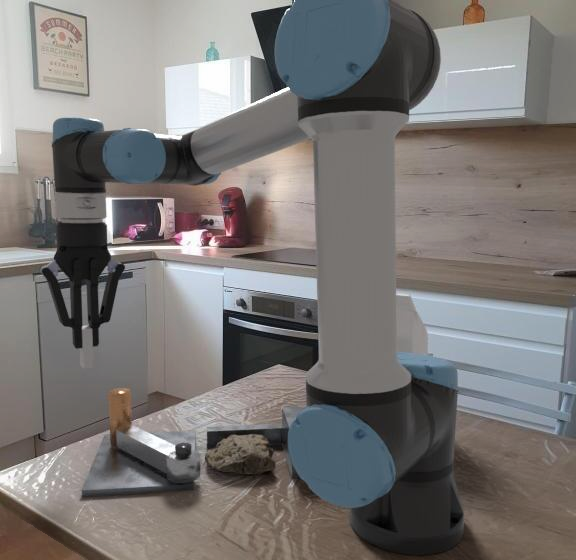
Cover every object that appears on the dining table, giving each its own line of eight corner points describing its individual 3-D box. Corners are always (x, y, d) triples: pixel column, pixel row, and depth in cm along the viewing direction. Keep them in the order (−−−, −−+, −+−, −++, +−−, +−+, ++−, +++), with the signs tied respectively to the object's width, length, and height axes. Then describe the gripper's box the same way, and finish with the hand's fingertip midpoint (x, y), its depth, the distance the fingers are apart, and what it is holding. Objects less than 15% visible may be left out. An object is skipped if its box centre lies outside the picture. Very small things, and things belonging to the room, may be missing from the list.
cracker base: (313, 483, 90) (313, 439, 89) (81, 496, 85) (79, 451, 84) (293, 431, 110) (294, 394, 109) (104, 439, 105) (103, 402, 104)
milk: (427, 426, 112) (434, 292, 108) (411, 449, 102) (417, 302, 98) (368, 415, 118) (372, 286, 114) (346, 436, 108) (350, 295, 104)
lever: (207, 474, 89) (206, 418, 88) (180, 486, 86) (179, 427, 84) (128, 435, 103) (126, 385, 102) (102, 443, 100) (100, 392, 98)
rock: (206, 451, 101) (205, 427, 100) (270, 449, 102) (271, 425, 101) (203, 482, 91) (202, 456, 90) (275, 479, 92) (275, 453, 91)
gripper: (41, 222, 86) (48, 379, 89) (130, 221, 92) (133, 366, 96) (32, 220, 92) (39, 366, 95) (116, 219, 99) (120, 355, 102)
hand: (86, 366), depth 96 cm, fingers closed
